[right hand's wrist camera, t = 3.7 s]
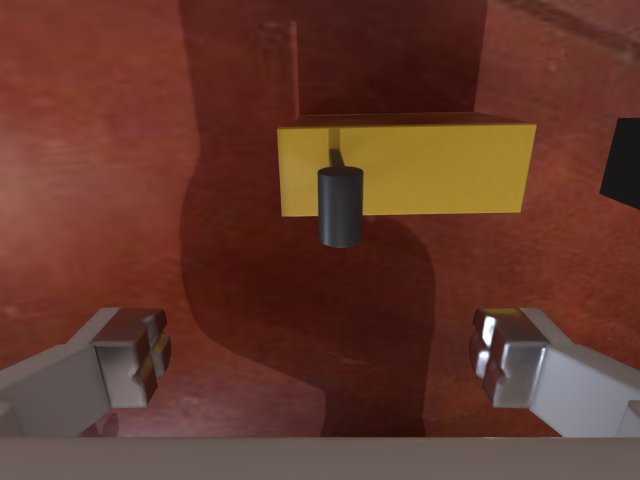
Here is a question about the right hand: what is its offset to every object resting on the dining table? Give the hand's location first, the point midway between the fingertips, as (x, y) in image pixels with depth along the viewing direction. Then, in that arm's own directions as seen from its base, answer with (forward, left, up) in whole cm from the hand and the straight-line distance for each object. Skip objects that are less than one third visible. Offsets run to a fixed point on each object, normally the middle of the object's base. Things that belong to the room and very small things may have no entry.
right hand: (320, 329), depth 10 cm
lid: (+1, +5, -17) cm, 18 cm away
